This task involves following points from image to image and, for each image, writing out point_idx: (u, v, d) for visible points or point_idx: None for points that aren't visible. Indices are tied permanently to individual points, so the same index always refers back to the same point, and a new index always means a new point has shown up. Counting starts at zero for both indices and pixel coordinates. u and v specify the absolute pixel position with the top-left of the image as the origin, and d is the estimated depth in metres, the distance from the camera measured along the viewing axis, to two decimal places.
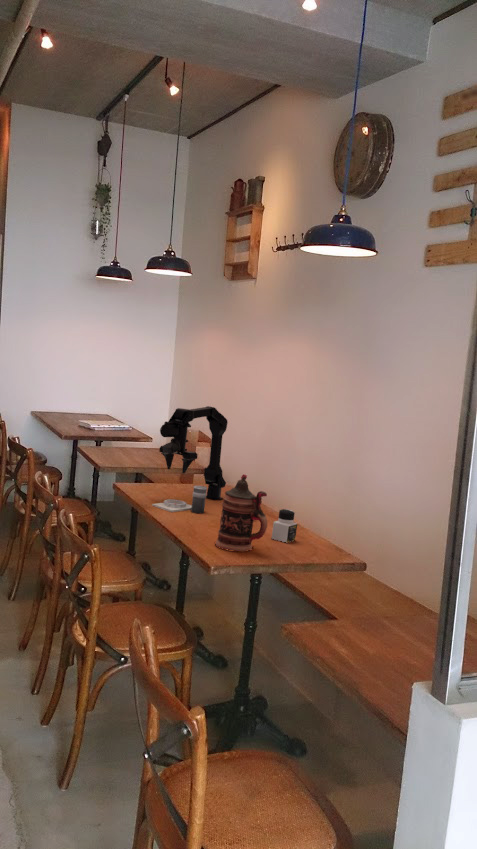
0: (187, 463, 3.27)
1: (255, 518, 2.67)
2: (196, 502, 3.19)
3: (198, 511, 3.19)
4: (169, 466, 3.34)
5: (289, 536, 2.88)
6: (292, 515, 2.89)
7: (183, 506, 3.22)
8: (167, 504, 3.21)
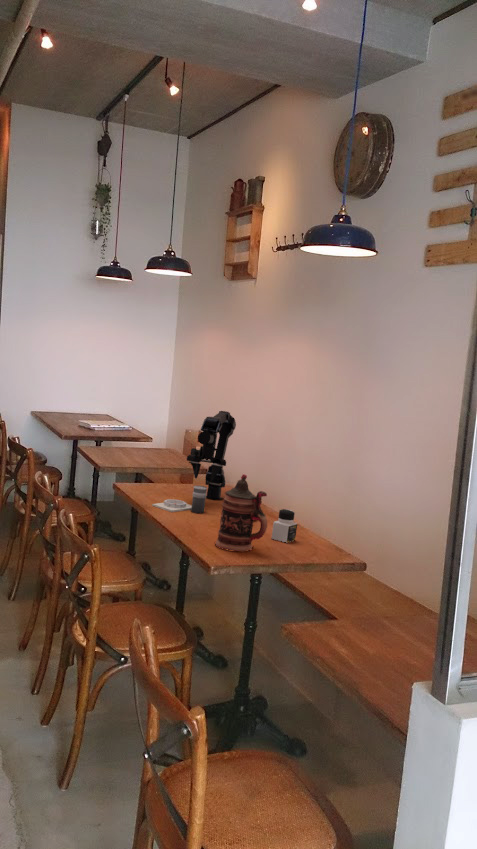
0: (195, 468, 3.29)
1: (255, 518, 2.67)
2: (196, 502, 3.19)
3: (198, 511, 3.19)
4: (212, 477, 3.36)
5: (289, 536, 2.88)
6: (292, 515, 2.89)
7: (183, 506, 3.22)
8: (167, 504, 3.21)
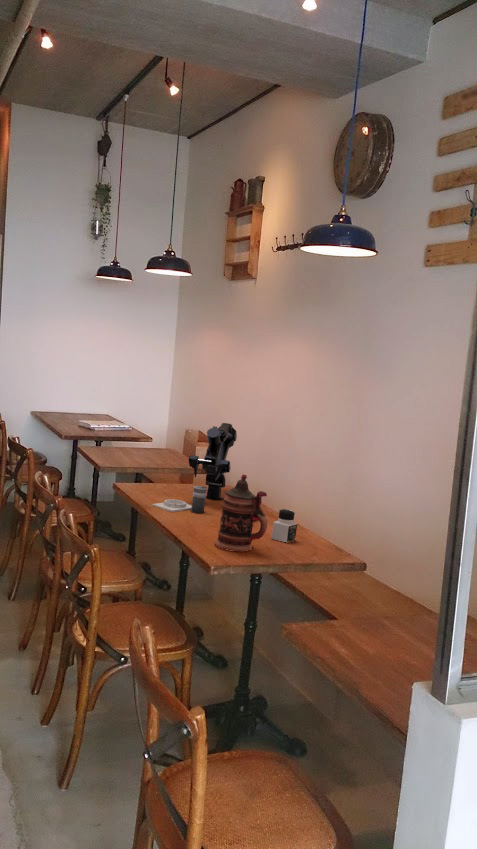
0: None
1: (255, 518, 2.67)
2: (196, 502, 3.19)
3: (198, 511, 3.19)
4: None
5: (289, 536, 2.88)
6: (292, 515, 2.89)
7: (183, 506, 3.22)
8: (167, 504, 3.21)
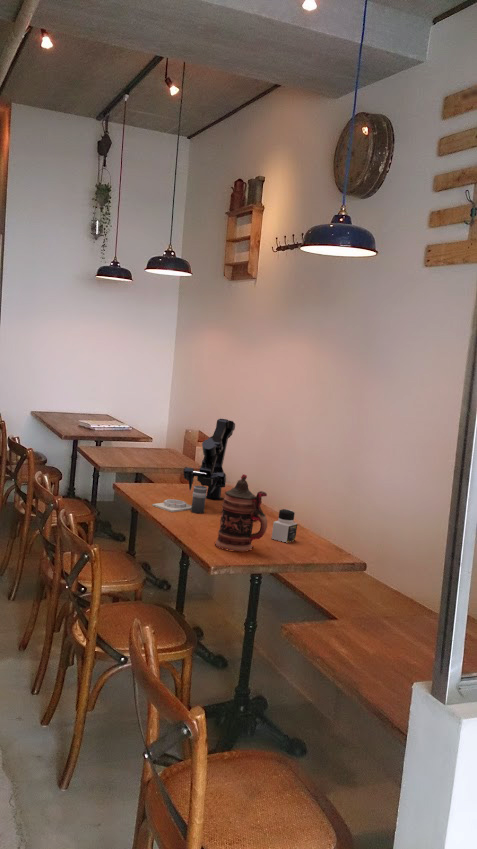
0: None
1: (255, 518, 2.67)
2: (196, 502, 3.19)
3: (198, 511, 3.19)
4: None
5: (289, 536, 2.88)
6: (292, 515, 2.89)
7: (183, 506, 3.22)
8: (167, 504, 3.21)
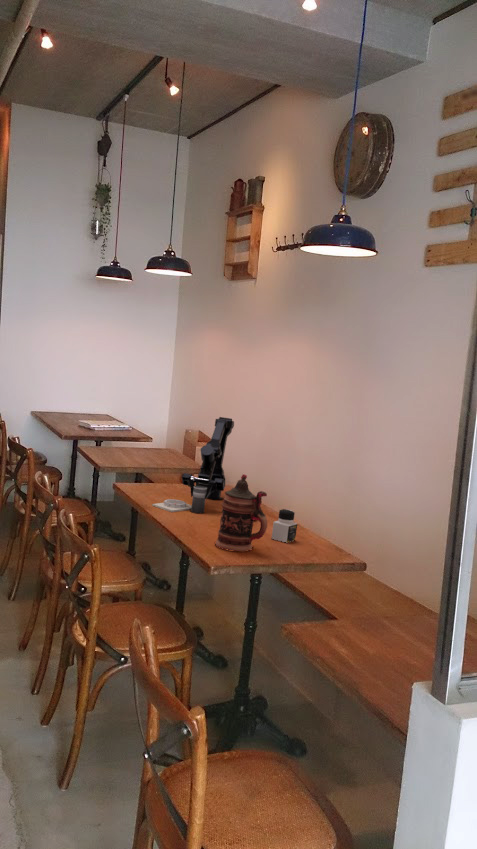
0: None
1: (255, 518, 2.67)
2: (196, 502, 3.19)
3: (198, 511, 3.19)
4: None
5: (289, 536, 2.88)
6: (292, 515, 2.89)
7: (183, 506, 3.22)
8: (167, 504, 3.21)
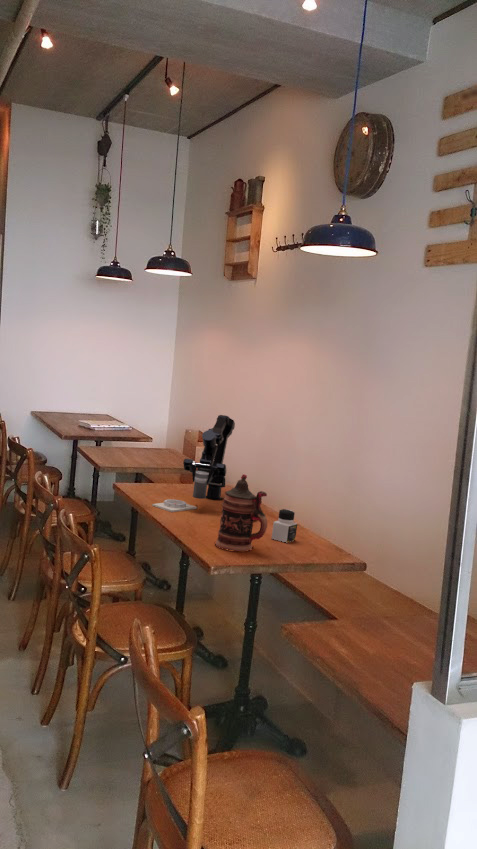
0: None
1: (255, 518, 2.67)
2: (198, 487, 3.18)
3: (200, 496, 3.19)
4: None
5: (289, 536, 2.88)
6: (292, 515, 2.89)
7: (183, 506, 3.22)
8: (167, 504, 3.21)
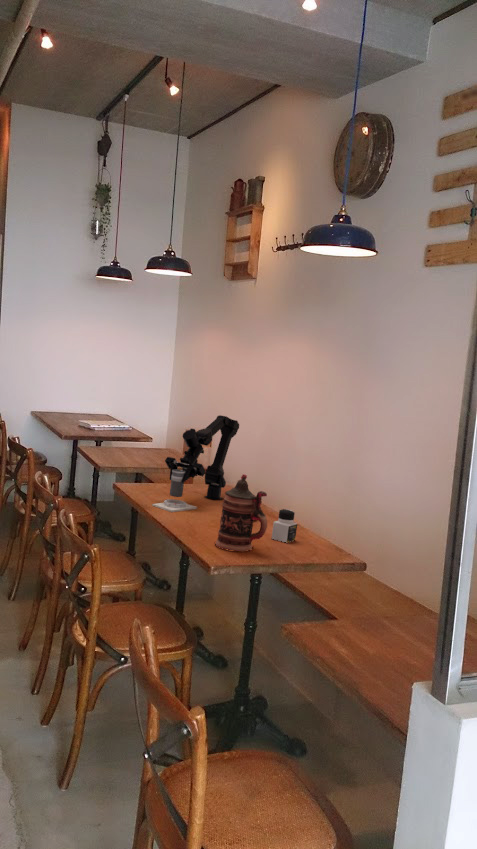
0: None
1: (255, 518, 2.67)
2: (173, 485, 3.22)
3: (174, 494, 3.22)
4: None
5: (289, 536, 2.88)
6: (292, 515, 2.89)
7: (183, 506, 3.22)
8: (167, 504, 3.21)
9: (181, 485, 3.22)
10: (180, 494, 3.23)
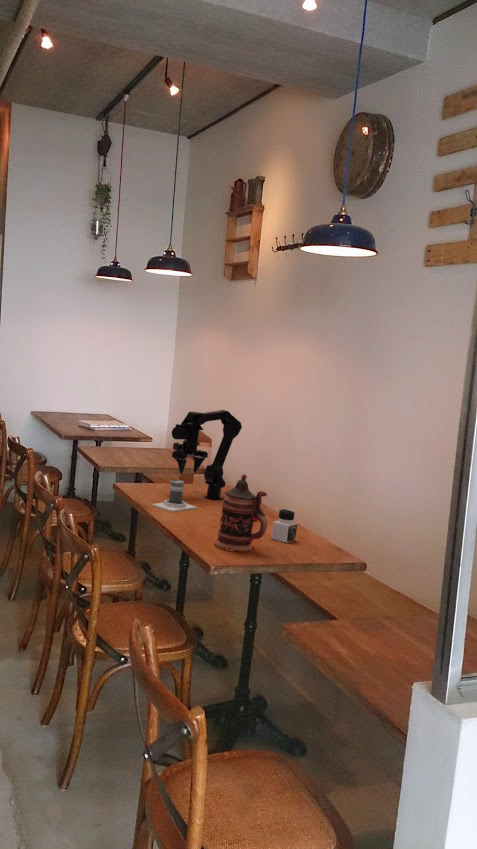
0: (181, 463, 3.35)
1: (255, 518, 2.67)
2: (172, 495, 3.22)
3: None
4: (194, 469, 3.44)
5: (289, 536, 2.88)
6: (292, 515, 2.89)
7: (183, 506, 3.22)
8: (167, 504, 3.21)
9: (180, 495, 3.23)
10: None
